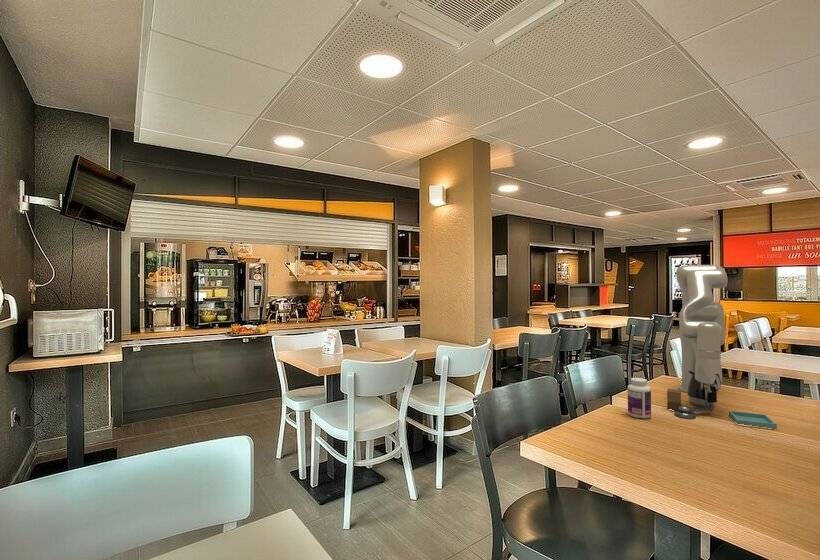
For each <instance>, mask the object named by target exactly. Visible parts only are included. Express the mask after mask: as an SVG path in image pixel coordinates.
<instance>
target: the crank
mask: <svg viewBox="0 0 820 560" xmlns="http://www.w3.org/2000/svg"><path fill="white" fill-rule="evenodd" d="M711 387H714V386H711ZM704 388H705V406H699V405H696V406H689V405H682V404H681V405H679V411H680V412H683V413H691V412H694V413H699V412H701V413H702V412H712V411H713V408H714V404H713V403H709V402H707V392H709V391H708V385H707V384H704Z"/></svg>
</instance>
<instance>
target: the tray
mask: <svg viewBox="0 0 820 560" xmlns="http://www.w3.org/2000/svg"><path fill="white" fill-rule="evenodd" d="M729 416H730V417H731V418H732V419H733V420H734V421H735V422H736V423H737V424H744V425H752V426H759V427H767V428H772V429H778V424H777V423H776V422H775V421H773V419H772V418H770V417H769V416H768V415H767V414H764V413H755V412H746V411H736V410H728V417H729ZM730 417H729V418H730ZM731 418H730V419H731ZM732 419H731V420H732ZM733 420H732V421H733ZM734 421H733V422H734Z"/></svg>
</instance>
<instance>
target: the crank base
mask: <svg viewBox="0 0 820 560" xmlns="http://www.w3.org/2000/svg"><path fill="white" fill-rule="evenodd" d="M696 413H697V412H691V413H683V412H680V411H679V409H677V410H674V411H673V415H674V416H675V417H677V418H680V419H684V420H686V419H687V420H694V419H696V417H697V415H696Z"/></svg>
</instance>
